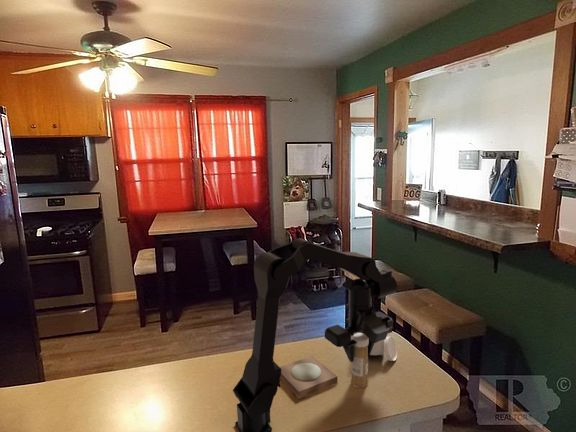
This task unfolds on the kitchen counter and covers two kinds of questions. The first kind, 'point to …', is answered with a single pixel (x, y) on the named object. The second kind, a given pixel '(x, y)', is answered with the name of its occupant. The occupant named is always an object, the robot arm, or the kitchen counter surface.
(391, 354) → the spread jar
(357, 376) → the sprinkles bottle
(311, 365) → the walnut plinth
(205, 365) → the kitchen counter surface
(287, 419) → the kitchen counter surface
